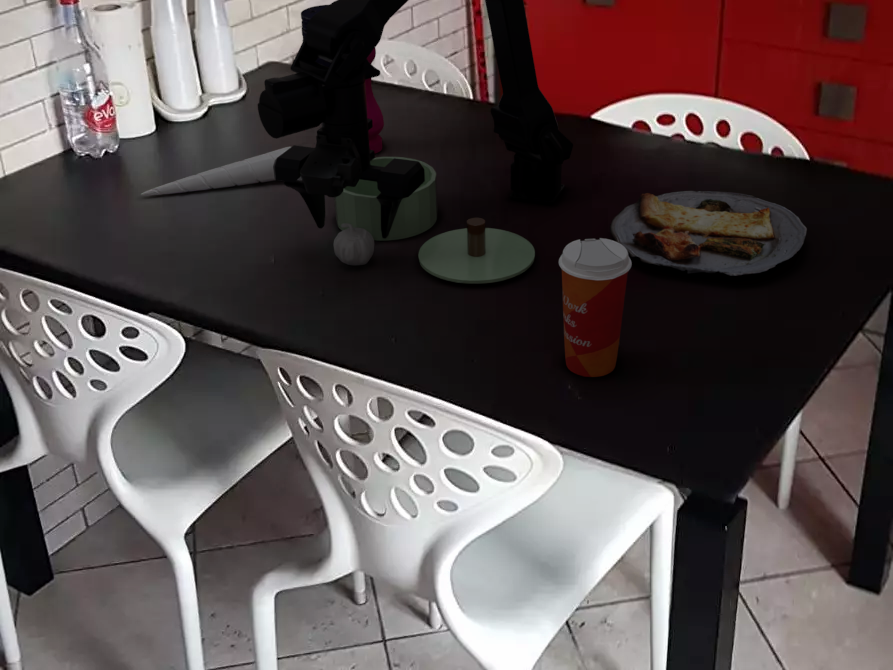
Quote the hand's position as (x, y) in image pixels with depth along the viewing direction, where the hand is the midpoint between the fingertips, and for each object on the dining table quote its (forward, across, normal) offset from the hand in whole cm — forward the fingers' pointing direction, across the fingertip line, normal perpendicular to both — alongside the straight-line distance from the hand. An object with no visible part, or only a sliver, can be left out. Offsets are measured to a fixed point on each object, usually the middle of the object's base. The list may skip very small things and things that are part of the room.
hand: (353, 232), depth 151 cm
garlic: (+4, 0, 0) cm, 5 cm away
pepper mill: (+4, -16, +36) cm, 40 cm away
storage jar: (+4, -32, +58) cm, 66 cm away
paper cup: (+4, +36, -14) cm, 39 cm away
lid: (+4, +15, +6) cm, 16 cm away
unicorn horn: (+4, -29, +16) cm, 33 cm away
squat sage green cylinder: (+4, -2, +13) cm, 14 cm away
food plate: (+4, +42, +20) cm, 47 cm away
